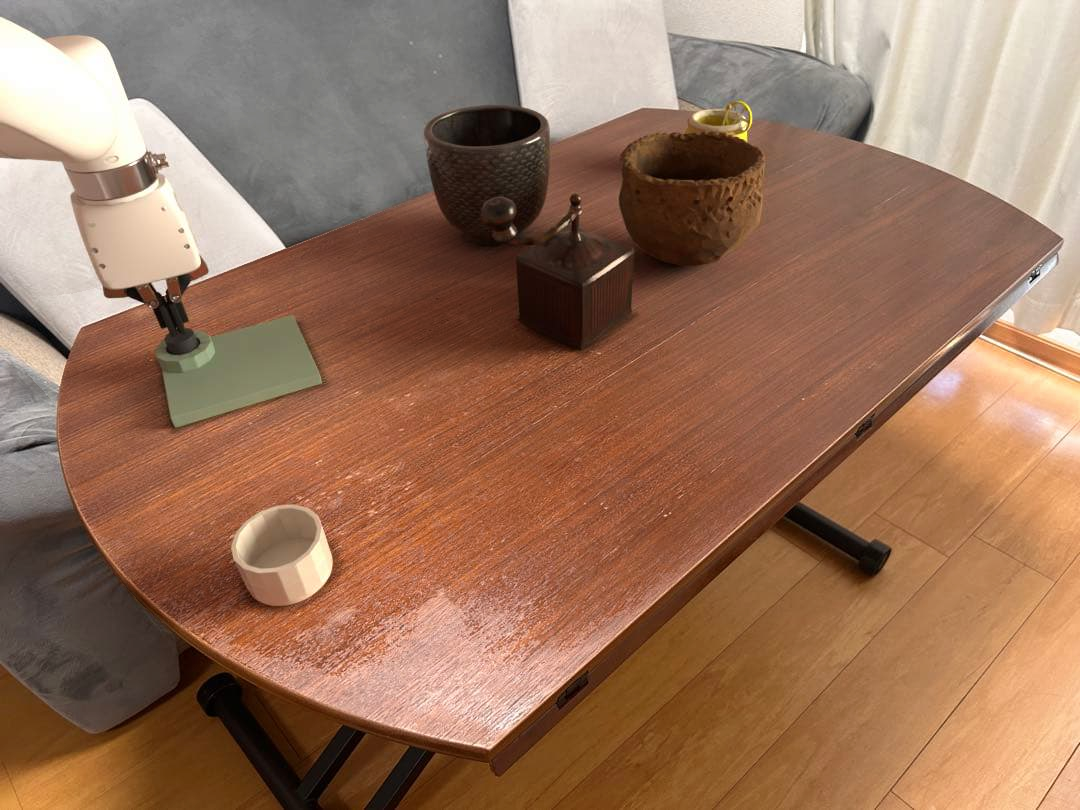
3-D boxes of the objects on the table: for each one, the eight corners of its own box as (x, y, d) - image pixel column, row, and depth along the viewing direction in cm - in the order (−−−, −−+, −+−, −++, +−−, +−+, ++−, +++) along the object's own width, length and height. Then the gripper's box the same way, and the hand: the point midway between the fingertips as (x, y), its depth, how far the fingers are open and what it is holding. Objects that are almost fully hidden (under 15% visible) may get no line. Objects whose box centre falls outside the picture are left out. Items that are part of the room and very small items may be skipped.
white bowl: (255, 619, 62) (239, 585, 59) (240, 556, 67) (225, 523, 64) (342, 585, 64) (331, 551, 62) (321, 527, 70) (310, 493, 67)
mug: (673, 154, 133) (679, 84, 126) (735, 151, 134) (744, 80, 126) (689, 184, 124) (696, 110, 116) (755, 180, 124) (767, 106, 116)
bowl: (588, 254, 107) (589, 150, 97) (680, 214, 116) (689, 115, 106) (686, 308, 95) (698, 196, 86) (780, 259, 104) (801, 153, 95)
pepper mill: (565, 286, 101) (563, 153, 89) (633, 314, 95) (641, 176, 83) (484, 339, 92) (470, 200, 80) (554, 373, 86) (550, 229, 74)
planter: (531, 267, 105) (526, 154, 94) (418, 252, 109) (401, 143, 99) (565, 213, 117) (564, 108, 107) (463, 202, 122) (452, 100, 111)
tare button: (171, 359, 86) (165, 346, 85) (168, 344, 88) (163, 332, 87) (200, 351, 87) (195, 338, 86) (196, 337, 90) (191, 324, 88)
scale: (174, 428, 81) (164, 407, 79) (161, 360, 91) (152, 339, 89) (322, 383, 86) (316, 362, 84) (295, 323, 96) (289, 303, 94)
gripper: (187, 147, 80) (238, 296, 91) (30, 178, 75) (105, 331, 87) (197, 173, 74) (249, 327, 86) (28, 207, 70) (108, 366, 81)
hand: (177, 329), depth 86 cm, fingers closed
